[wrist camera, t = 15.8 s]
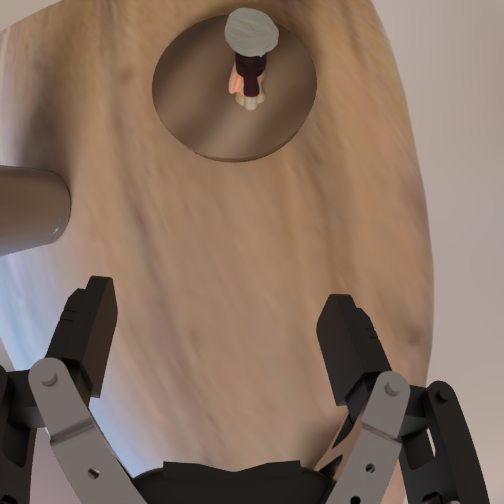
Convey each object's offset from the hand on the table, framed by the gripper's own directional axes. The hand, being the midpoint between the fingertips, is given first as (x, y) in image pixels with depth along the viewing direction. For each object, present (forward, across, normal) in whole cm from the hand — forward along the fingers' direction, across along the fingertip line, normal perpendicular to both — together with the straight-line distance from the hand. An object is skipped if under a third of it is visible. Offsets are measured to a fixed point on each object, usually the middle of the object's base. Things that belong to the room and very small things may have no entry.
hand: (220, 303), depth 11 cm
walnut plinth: (+27, -1, -4) cm, 27 cm away
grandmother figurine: (+23, -2, -5) cm, 23 cm away
